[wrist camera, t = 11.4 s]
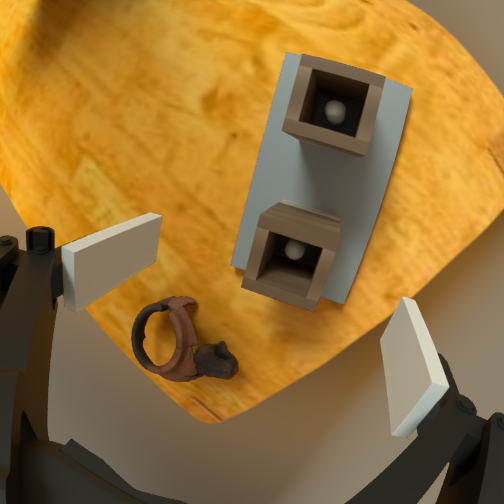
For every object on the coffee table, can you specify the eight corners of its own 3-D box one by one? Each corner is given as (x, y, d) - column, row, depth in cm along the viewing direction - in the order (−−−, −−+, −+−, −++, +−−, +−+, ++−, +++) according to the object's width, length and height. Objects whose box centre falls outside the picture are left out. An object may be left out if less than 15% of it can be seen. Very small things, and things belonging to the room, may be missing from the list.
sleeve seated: (313, 85, 22) (302, 53, 15) (372, 102, 22) (385, 76, 14) (299, 140, 24) (281, 130, 17) (357, 158, 23) (365, 155, 16)
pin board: (288, 56, 23) (271, 26, 17) (409, 91, 21) (430, 70, 15) (234, 261, 30) (206, 288, 24) (343, 298, 28) (342, 337, 22)
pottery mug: (168, 362, 37) (119, 365, 30) (183, 292, 39) (135, 283, 32) (248, 396, 32) (204, 412, 24) (268, 315, 33) (227, 311, 26)
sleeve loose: (283, 198, 26) (259, 214, 19) (340, 216, 25) (340, 240, 18) (268, 253, 28) (240, 287, 20) (322, 270, 27) (314, 312, 19)
